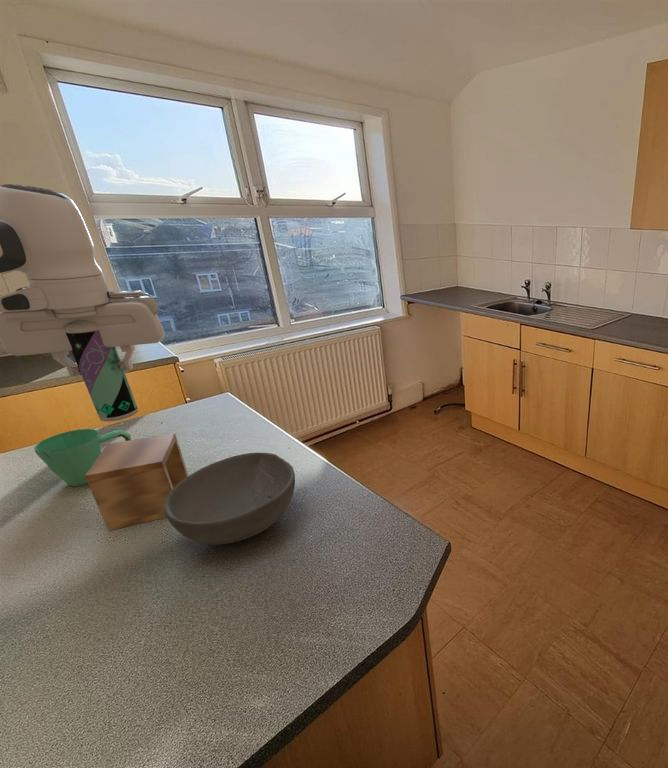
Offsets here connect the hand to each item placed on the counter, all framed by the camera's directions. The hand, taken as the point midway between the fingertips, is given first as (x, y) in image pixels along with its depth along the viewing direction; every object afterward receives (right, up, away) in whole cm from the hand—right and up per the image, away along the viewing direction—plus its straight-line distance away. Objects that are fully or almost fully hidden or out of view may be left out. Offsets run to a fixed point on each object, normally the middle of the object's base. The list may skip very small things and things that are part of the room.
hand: (102, 372), depth 76 cm
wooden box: (0, -27, +11) cm, 29 cm away
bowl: (+21, -29, +6) cm, 37 cm away
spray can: (0, -8, +4) cm, 9 cm away
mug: (-20, -23, +20) cm, 36 cm away
